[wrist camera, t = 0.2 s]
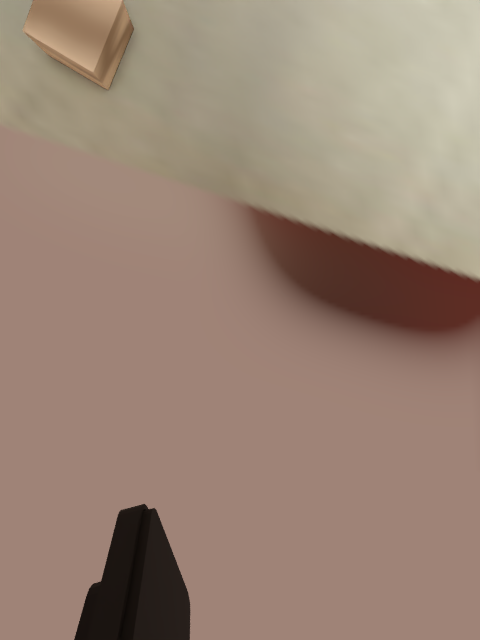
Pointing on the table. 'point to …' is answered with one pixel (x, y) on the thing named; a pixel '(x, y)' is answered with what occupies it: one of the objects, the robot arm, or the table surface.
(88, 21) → the oak cube
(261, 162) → the table surface
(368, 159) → the table surface
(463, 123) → the table surface
